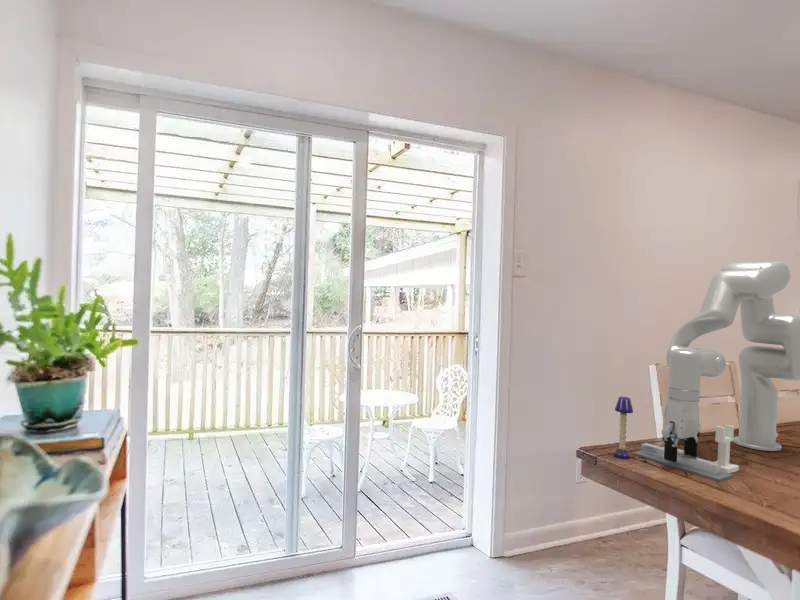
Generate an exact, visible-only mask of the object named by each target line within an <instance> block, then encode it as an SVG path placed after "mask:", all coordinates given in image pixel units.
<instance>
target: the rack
mask: <svg viewBox="0 0 800 600" xmlns="http://www.w3.org/2000/svg"><path fill="white" fill-rule="evenodd" d="M734 430H735V426H734V425H730V424H724V425H723V426H720V425H716V426H715V435H714V438H715V439H714V442H716V443H717V459H716V460H715V461H714V462H715V463H718V464H721V471H722V472H725V473H728V474H732V473H735V472H739V470H740V466H739V465H737V464H733V463H730V456H731V455H730V453H731V443H732V442H733V438H734V437H735V435H734V433H735V431H734ZM671 439H672V441H673V440H674V439H673V438H671ZM662 447H663V448H664V447H665V446H662ZM676 447H678V444H677V445H676ZM677 452H680V453H683V454H684V449H680V448H678V449H677Z"/></svg>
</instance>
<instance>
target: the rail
mask: <svg viewBox="0 0 800 600" xmlns="http://www.w3.org/2000/svg"><path fill="white" fill-rule="evenodd" d="M663 447H664V446H662V447H661V446H659V445H655V444H653V443H648V442H645V443H642V444H641V450H640V451H641V453H644V454H647V455H650V456H654V457H657V458H660V459H663V460H665V459H664V448H663ZM667 461H668V460H667ZM670 462H672V461H670ZM673 463H676V464H680V465H683V466H686V467H689V468H693V469H696V470H699V471H702V472H706V473H709V474H712V475H715V476H716V475H719V474H721V464H718V463H715V461H711V460H708V459H704V458H701V457H694V456H690V455H687V454H683V453H680V452H677V462H673Z"/></svg>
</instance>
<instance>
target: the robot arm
mask: <svg viewBox="0 0 800 600" xmlns="http://www.w3.org/2000/svg"><path fill="white" fill-rule="evenodd" d="M790 280H791V270H790V269H789V266H788V265H787V264H786V263H785V262H783V261H777V260H776V261H774V260H773V261H742V262H741V261H740V262H739V261H737V262H731V263H728V264H725V265H724V266H722V268H721V270H720V271H719V272H717V273H715V274H714V275H713V276H712V279H711V281H710V284H709V285H708V289H707V291H706V294H705V297H704V300H703V303H702V305H701V307H700V310H699V313H698V314H696V315H695V316H693V317H692V318H690V319H689V320H687V321H686V322H685V323H683V324H682V325H681V326H680V327H679V328H678V329H677V330H676V331H675V332H674V334H673V336H672V339H671V341H670V344H669V346H668V350H667V353H666V364H667V367H668V383H667V397H666V398H667V400H666V403H665V406H664V412H663V422H662V429H661V435H662V441H663V445H664V446H663V447H664V459H665V460H668V461H672V462H677V449H679V448H678V444H679V443H678V441H679V439H684V440H685V442H684V444H683V446H684V447H683V448H684V449H683V450H684V454H687V455H690V456H694V457H697V456H698V443H699V436H700V431H701V428H702V425H701V424H700V412H699V410H700V409H699V404H700V399H701V398H700V397H701V396H700V395H701V394H700V393H701V377H706V378H714V377H718V376H720V375H721V374H723V372H724V371H725V368H726V358H725V357H724V355H723V354H722V353H721V352H719V351H717V350H714V349H709V348H707V349H706V348H699V347H692V346H691V347H690V344H691V343H692V342H693V341H695V340H696V339H698V338H700V337H702V336H703V335H707V334H710V333H713V332H716V331H720V330H723V329H726V328H728V327H730V326H731V325H732V324H733V322H734V320H735V317H736V314H737V312H738V308H740V320H741V331H742V336H743V338H744V339H745V340H746V341H748V342H751V343H757V344H767V345H775V346H777V345H778V346H782V347H775V346H765V345H749V346H746V347H744V348H742V349H741V350H740V351H739V354H738V365H739V369H740V370H739V371H740V382H741V383H740V401H739V402H740V405H739V421H738V422H739V423H738V424H739V428H738V436H734V437H733V441H732V442H733V443H734V444H735V445H738V446H741V447H745V448H748V449H753V450H758V451H765V452H779V451H782V448H783V447H782V445H781V444H780V443H779V442H778V443H777V442H776V441H777V438H778V436H779V432H777V417H778V416H777V415H778V401H779V400H778V399H779V397H778V396H779V393H778V392H779V391H778V389H777V387H776V385H775V384H774V383H773V381H772V380H771V379H777V380H785V381H793V382H794V381H795V382H796V381H800V316H798V315H796V314H791V313H790V314H789V313H776V312H775V305H774V298H773V295H774V296H775V294H777V293H779V292H781V291H783V290H784V289H785V288H786V287H787V286H788V284H789V282H790ZM671 438H673V439H674V440H673V441H672V439H671ZM676 445H677V447H676ZM697 458H698V457H697Z"/></svg>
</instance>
